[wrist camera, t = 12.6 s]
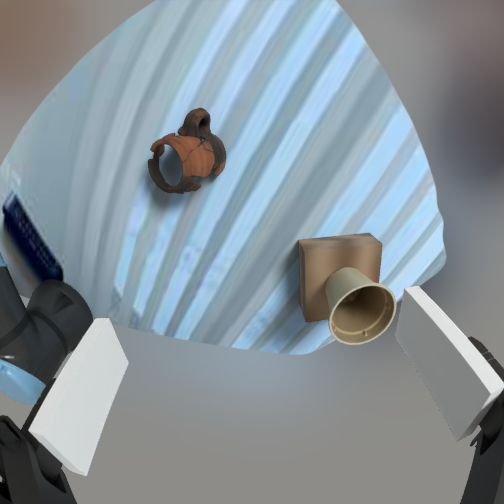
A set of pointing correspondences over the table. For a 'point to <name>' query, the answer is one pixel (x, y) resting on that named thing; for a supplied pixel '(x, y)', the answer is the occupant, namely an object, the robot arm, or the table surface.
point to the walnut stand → (333, 267)
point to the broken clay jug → (190, 152)
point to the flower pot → (358, 307)
